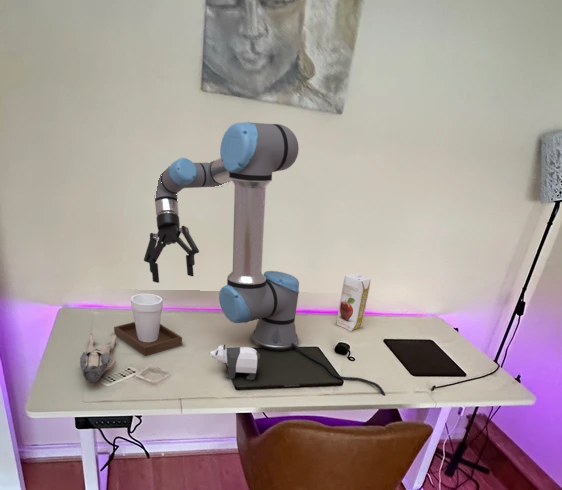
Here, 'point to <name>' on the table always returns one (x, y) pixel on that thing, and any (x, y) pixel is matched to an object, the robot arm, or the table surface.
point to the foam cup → (147, 315)
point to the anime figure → (96, 360)
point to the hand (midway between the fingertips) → (173, 278)
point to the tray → (164, 342)
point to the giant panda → (237, 360)
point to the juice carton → (353, 301)
